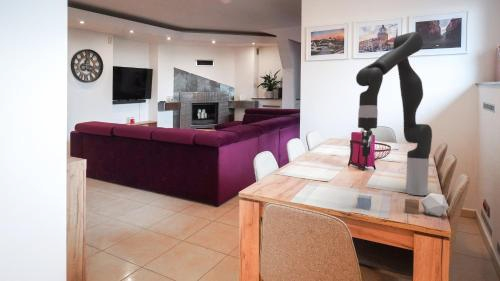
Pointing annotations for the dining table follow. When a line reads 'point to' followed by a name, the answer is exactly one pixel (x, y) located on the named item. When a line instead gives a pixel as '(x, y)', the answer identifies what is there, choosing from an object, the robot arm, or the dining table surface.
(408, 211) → the walnut cube
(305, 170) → the dining table surface
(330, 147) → the dining table surface
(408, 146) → the dining table surface
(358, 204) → the blue cube
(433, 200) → the die
